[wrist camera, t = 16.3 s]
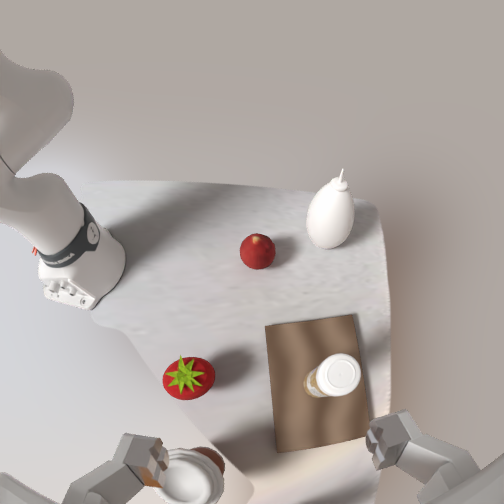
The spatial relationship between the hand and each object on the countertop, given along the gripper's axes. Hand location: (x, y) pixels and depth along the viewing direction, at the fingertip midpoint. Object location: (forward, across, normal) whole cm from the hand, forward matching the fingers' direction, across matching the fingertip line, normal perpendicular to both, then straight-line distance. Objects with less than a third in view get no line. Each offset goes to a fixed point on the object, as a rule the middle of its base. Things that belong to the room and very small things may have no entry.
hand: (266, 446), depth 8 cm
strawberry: (+26, +10, +18) cm, 34 cm away
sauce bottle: (+42, -13, +2) cm, 45 cm away
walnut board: (+24, -8, +20) cm, 32 cm away
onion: (+40, -1, +4) cm, 40 cm away
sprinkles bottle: (+24, -8, +19) cm, 31 cm away
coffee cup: (+16, +10, +28) cm, 34 cm away
